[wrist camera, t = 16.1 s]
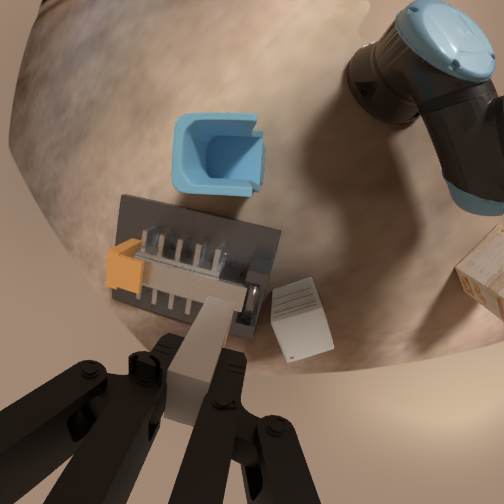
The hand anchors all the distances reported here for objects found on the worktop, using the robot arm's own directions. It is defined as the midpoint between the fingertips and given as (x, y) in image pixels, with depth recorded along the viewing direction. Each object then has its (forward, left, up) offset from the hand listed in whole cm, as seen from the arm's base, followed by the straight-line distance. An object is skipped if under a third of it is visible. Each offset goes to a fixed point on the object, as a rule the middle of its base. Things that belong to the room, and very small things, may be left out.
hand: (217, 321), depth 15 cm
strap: (+10, -7, -26) cm, 29 cm away
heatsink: (+10, -9, -32) cm, 35 cm away
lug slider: (+10, -18, -31) cm, 37 cm away
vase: (-9, -5, -33) cm, 34 cm away
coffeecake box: (-6, +46, -33) cm, 57 cm away
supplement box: (+11, +10, -33) cm, 36 cm away
